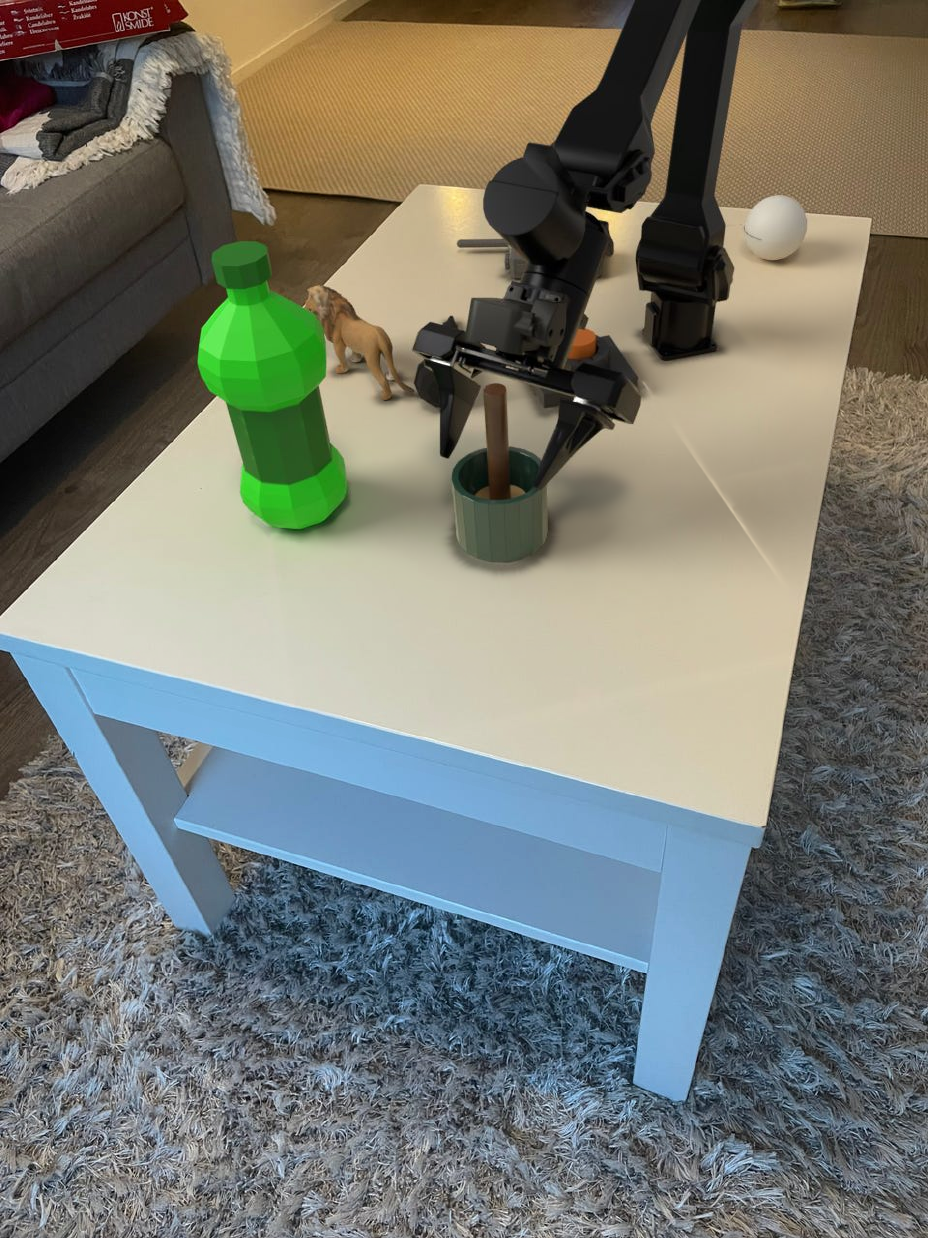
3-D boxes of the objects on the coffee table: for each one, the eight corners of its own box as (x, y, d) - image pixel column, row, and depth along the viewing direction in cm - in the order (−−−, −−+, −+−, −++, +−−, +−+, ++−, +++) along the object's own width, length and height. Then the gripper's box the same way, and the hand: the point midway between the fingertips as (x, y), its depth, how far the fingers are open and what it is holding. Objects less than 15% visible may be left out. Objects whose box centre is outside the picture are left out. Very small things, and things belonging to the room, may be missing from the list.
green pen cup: (533, 501, 89) (532, 438, 84) (558, 557, 83) (559, 493, 78) (448, 518, 88) (442, 455, 83) (468, 576, 82) (463, 512, 77)
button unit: (608, 352, 106) (609, 319, 103) (636, 395, 100) (639, 361, 97) (520, 369, 105) (519, 335, 102) (544, 413, 99) (543, 379, 96)
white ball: (804, 246, 120) (816, 186, 115) (797, 273, 116) (809, 212, 110) (723, 239, 123) (731, 180, 118) (713, 265, 118) (721, 205, 113)
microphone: (439, 347, 115) (425, 425, 99) (420, 303, 112) (403, 376, 96) (481, 332, 113) (475, 408, 98) (464, 286, 110) (454, 358, 95)
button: (589, 340, 101) (589, 325, 100) (600, 357, 99) (600, 341, 97) (556, 346, 101) (556, 331, 99) (566, 363, 98) (566, 348, 97)
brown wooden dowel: (520, 510, 87) (516, 368, 77) (535, 543, 84) (533, 399, 73) (469, 520, 86) (457, 378, 76) (482, 554, 83) (471, 411, 73)
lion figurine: (303, 367, 108) (287, 292, 102) (336, 346, 111) (323, 272, 104) (399, 408, 101) (388, 330, 95) (432, 385, 104) (424, 307, 97)
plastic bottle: (311, 465, 95) (255, 212, 77) (378, 511, 89) (335, 249, 71) (225, 514, 90) (145, 256, 73) (291, 565, 85) (221, 300, 67)
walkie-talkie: (612, 247, 124) (458, 249, 126) (614, 213, 121) (456, 216, 123) (611, 279, 118) (450, 281, 120) (613, 244, 115) (447, 246, 117)
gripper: (412, 224, 74) (346, 419, 76) (634, 272, 66) (555, 488, 68) (473, 278, 84) (414, 449, 86) (672, 325, 76) (602, 512, 78)
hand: (489, 472), depth 79 cm, fingers open, 9 cm apart
